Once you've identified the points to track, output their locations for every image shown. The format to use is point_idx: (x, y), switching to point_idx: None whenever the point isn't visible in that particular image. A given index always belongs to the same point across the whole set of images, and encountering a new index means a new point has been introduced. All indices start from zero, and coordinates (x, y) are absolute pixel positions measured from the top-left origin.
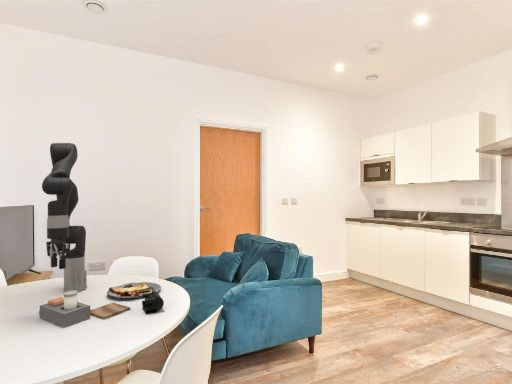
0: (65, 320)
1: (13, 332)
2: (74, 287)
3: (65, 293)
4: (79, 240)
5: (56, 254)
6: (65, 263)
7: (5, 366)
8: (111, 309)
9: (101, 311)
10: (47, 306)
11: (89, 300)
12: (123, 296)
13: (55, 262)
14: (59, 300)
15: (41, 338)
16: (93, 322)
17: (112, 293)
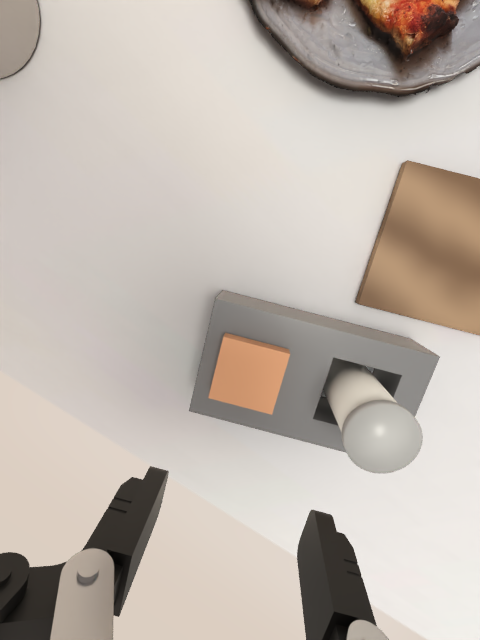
0: None
1: (233, 493)
2: (7, 38)
3: (373, 465)
4: None
5: (104, 623)
6: (341, 556)
7: (412, 628)
8: (466, 251)
9: (433, 287)
10: (236, 412)
11: (224, 143)
12: (417, 54)
13: (150, 522)
14: (264, 382)
15: (366, 506)
16: (454, 368)
17: (304, 23)
